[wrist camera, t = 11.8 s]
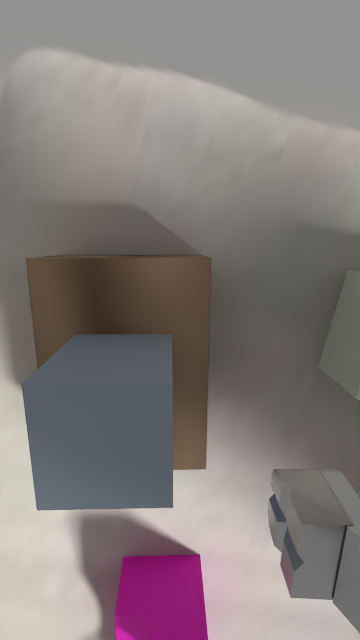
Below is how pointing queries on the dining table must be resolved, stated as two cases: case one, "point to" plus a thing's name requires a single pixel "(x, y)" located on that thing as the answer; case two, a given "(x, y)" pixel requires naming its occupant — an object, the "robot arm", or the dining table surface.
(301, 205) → the dining table surface
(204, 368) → the walnut pedestal
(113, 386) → the slate block
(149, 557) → the toy block
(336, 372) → the sage block
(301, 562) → the robot arm
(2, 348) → the dining table surface
